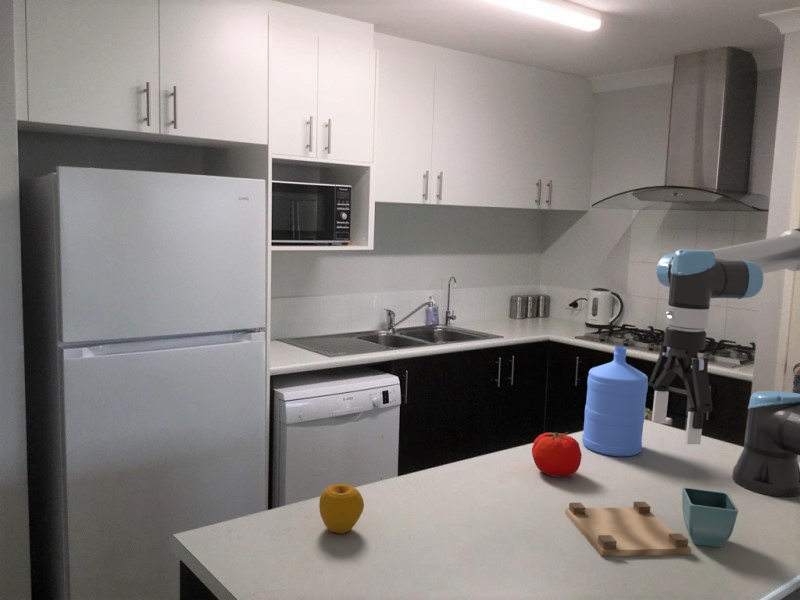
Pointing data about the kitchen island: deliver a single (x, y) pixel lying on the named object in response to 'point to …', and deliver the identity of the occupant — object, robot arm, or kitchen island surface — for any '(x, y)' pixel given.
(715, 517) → the flower pot
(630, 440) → the water jug
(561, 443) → the tomato
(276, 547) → the kitchen island surface
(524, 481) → the kitchen island surface
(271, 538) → the kitchen island surface
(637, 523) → the trivet
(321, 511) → the apple
